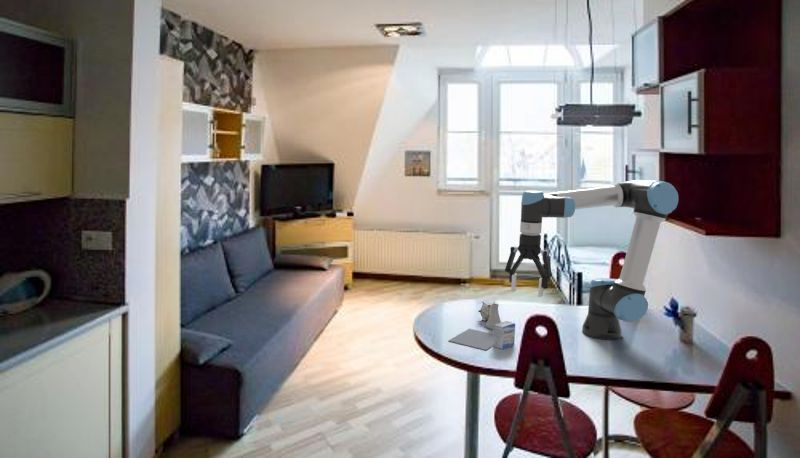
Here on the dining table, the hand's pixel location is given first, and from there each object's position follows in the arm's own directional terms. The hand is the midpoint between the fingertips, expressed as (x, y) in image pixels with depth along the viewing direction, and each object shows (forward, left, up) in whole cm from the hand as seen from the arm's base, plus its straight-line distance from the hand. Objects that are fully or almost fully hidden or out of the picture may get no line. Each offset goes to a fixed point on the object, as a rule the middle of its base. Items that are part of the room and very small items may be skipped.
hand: (526, 293), depth 200 cm
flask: (+20, -18, -22) cm, 35 cm away
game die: (+26, -25, -22) cm, 42 cm away
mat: (+19, 0, -22) cm, 29 cm away
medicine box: (+8, 0, -22) cm, 23 cm away
